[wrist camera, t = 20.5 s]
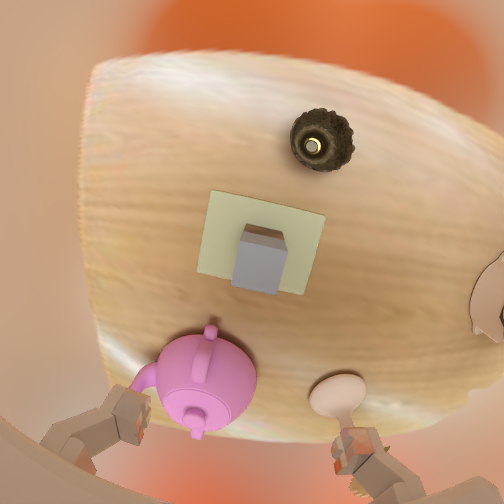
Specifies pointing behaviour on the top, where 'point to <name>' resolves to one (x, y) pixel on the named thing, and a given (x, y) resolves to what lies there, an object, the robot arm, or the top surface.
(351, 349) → the top surface
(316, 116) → the dark brown round piece
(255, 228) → the walnut block
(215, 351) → the teapot
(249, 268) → the slate block
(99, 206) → the top surface
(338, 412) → the flower in vase
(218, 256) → the base plate
